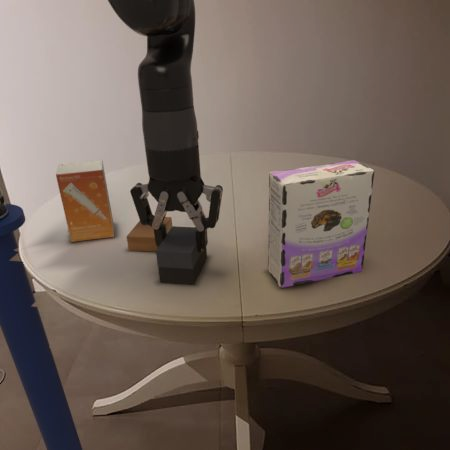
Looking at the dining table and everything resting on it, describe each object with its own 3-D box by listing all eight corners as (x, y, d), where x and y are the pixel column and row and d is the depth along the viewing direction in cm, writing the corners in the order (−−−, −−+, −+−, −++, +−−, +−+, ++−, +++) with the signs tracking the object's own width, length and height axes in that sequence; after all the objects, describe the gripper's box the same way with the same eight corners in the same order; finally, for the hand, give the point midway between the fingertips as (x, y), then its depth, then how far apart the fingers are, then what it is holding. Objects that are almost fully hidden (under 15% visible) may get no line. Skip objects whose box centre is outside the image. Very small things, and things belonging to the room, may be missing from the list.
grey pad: (192, 269, 71) (191, 252, 69) (157, 267, 72) (155, 250, 70) (206, 243, 78) (205, 227, 77) (174, 241, 79) (172, 226, 78)
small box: (71, 243, 87) (54, 174, 80) (72, 229, 92) (56, 163, 85) (115, 237, 88) (102, 169, 81) (114, 224, 93) (102, 158, 86)
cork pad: (158, 252, 82) (156, 237, 81) (128, 250, 83) (126, 236, 82) (173, 230, 90) (171, 216, 88) (145, 229, 91) (143, 215, 89)
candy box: (345, 257, 78) (355, 158, 69) (363, 273, 73) (377, 169, 64) (266, 271, 75) (267, 169, 66) (280, 289, 70) (283, 182, 61)
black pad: (194, 284, 72) (192, 269, 71) (159, 282, 73) (157, 267, 72) (207, 257, 80) (206, 242, 78) (175, 256, 81) (174, 241, 79)
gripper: (112, 148, 64) (131, 258, 73) (215, 149, 61) (221, 263, 70) (132, 134, 70) (147, 237, 79) (226, 134, 67) (231, 241, 76)
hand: (182, 248), depth 75 cm, fingers closed on grey pad, 5 cm apart
